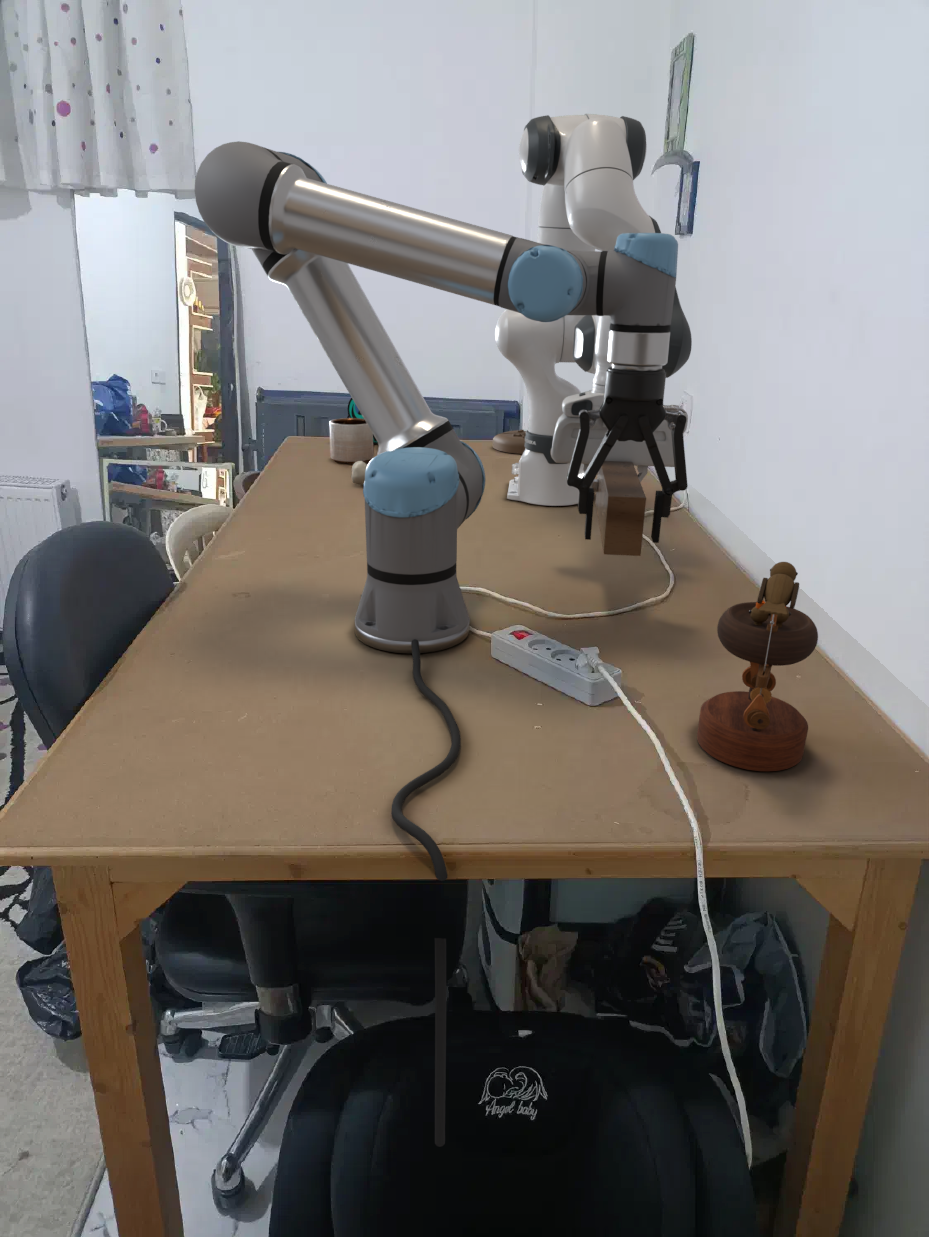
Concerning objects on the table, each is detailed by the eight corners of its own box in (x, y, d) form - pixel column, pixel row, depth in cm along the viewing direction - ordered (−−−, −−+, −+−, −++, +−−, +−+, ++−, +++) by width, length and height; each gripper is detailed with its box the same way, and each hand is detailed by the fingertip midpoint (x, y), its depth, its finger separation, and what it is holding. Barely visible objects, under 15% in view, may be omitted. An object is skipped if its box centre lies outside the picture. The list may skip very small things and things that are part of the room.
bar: (640, 556, 113) (646, 497, 110) (603, 554, 113) (608, 496, 110) (625, 503, 138) (629, 455, 135) (595, 502, 139) (599, 454, 136)
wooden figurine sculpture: (826, 784, 80) (847, 586, 73) (707, 784, 81) (715, 589, 74) (787, 708, 94) (802, 535, 87) (686, 708, 95) (692, 539, 88)
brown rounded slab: (498, 463, 213) (499, 446, 211) (490, 442, 239) (491, 427, 237) (581, 463, 214) (582, 447, 212) (564, 443, 240) (565, 428, 238)
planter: (327, 456, 217) (325, 418, 214) (369, 454, 220) (368, 417, 217) (334, 465, 208) (332, 425, 204) (377, 463, 211) (376, 424, 207)
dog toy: (438, 479, 195) (438, 457, 193) (442, 485, 190) (442, 463, 188) (350, 481, 192) (349, 459, 190) (351, 487, 187) (351, 464, 185)
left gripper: (716, 366, 110) (695, 534, 118) (552, 361, 112) (543, 527, 120) (727, 372, 103) (704, 550, 111) (552, 367, 105) (543, 542, 113)
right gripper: (686, 402, 131) (676, 490, 136) (554, 398, 133) (549, 485, 138) (692, 408, 125) (681, 499, 130) (554, 404, 127) (549, 494, 132)
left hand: (621, 538), depth 116 cm, fingers open, 8 cm apart
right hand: (612, 492), depth 134 cm, fingers closed on bar, 5 cm apart
